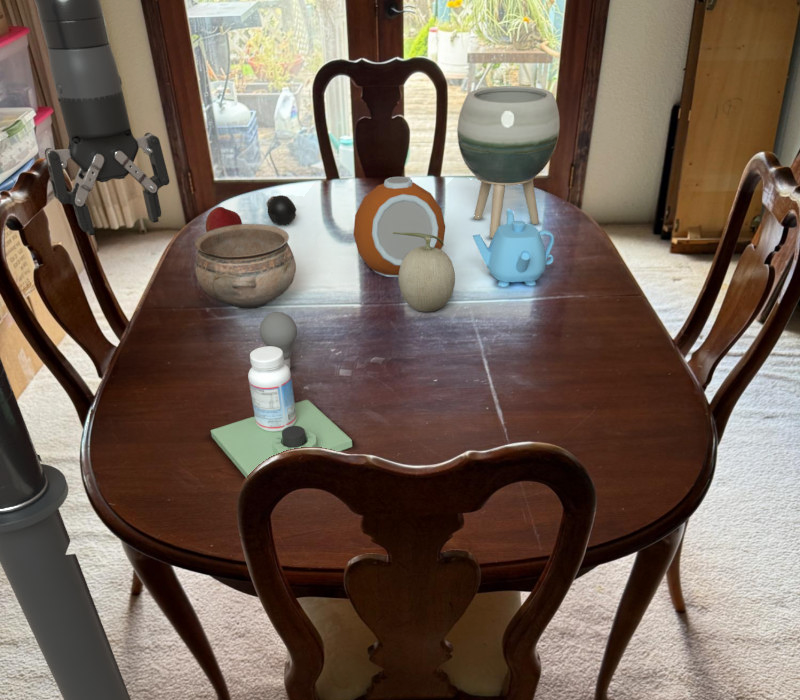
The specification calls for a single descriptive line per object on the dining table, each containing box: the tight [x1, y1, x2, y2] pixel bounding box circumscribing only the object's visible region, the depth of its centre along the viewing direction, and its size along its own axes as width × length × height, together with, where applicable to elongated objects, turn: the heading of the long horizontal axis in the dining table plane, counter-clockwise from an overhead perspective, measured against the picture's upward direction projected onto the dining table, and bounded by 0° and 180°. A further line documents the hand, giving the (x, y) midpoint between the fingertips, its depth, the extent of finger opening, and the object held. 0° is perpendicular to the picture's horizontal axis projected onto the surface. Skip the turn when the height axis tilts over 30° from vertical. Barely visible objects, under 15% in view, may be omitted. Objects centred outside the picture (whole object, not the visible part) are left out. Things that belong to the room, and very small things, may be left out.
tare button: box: [282, 426, 306, 448], centre depth 108 cm, size 3×3×2 cm
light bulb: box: [259, 311, 298, 369], centre depth 128 cm, size 6×6×10 cm
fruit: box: [393, 232, 456, 313], centre depth 145 cm, size 10×12×15 cm
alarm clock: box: [353, 176, 446, 278], centre depth 161 cm, size 19×18×17 cm
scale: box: [210, 399, 353, 479], centre depth 113 cm, size 16×15×3 cm
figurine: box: [265, 195, 297, 227], centre depth 192 cm, size 8×7×18 cm
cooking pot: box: [194, 223, 297, 310], centre depth 149 cm, size 25×19×12 cm
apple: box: [205, 206, 243, 233], centre depth 176 cm, size 8×8×8 cm
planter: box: [456, 85, 561, 239], centre depth 175 cm, size 22×22×28 cm
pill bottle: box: [247, 345, 296, 432], centre depth 112 cm, size 6×6×11 cm
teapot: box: [472, 208, 555, 288], centre depth 156 cm, size 15×14×11 cm
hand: (122, 227), depth 104 cm, fingers open, 8 cm apart
